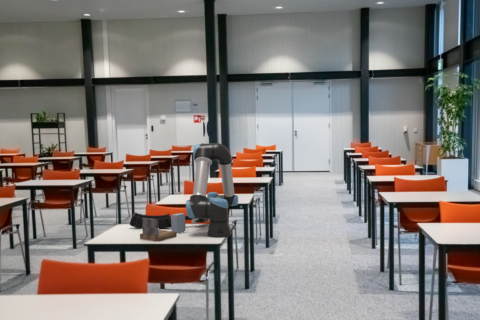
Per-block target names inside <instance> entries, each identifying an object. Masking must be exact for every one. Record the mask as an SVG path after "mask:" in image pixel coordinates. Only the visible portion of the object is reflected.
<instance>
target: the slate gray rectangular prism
mask: <svg viewBox="0 0 480 320" xmlns="http://www.w3.org/2000/svg"><path fill="white" fill-rule="evenodd" d="M185 216H186V213H182V212H181V213H180V212H179V213H174V214H171V215H170V217H171V226H172V228H171V231H173V232H176V233H179V234H182V233H181V232H183V233H185V232H184V231H187V230H186V220H185Z"/></svg>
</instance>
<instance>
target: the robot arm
mask: <svg viewBox="0 0 480 320" xmlns="http://www.w3.org/2000/svg"><path fill="white" fill-rule="evenodd" d="M192 158H193V161H194V163H195V164H196V168H195V174H194V175H195V176H194V185H193V191H192V194H191V195H190V197H189V199H188V200H186V201H185V210H186V215H185V221H191V225H194V224H199V223H205V222H207V223H208V222H209V226H208V229H207V237H211V238H225V237H229V236H231V235H232V230H231V227H230V224H229V206H231V207H235V206H238V204H239V196H238V195H237V194H235V187H234V178H233V171H232V170H233V169H232V164H233V157H232V154H231V152H230V150H229V149H228V148H227V147H226V146H225V145H223V144H222V143H219V142H216V143H215V142H214V143H213V142H211V143H208V142H207V143H203V142H202V143H197V144H195V145H194V148H193V152H192ZM213 161H217V163H218V165H219V167H220V174H221V175H220V176H221V182H222V191H223V194H218V192H217V191H216V192H215V191H210V192H209V191H208V193H207V190H208V182H209V174H210V166H211V165H212V164H213Z"/></svg>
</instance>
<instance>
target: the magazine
mask: <svg viewBox="0 0 480 320" xmlns="http://www.w3.org/2000/svg"><path fill="white" fill-rule="evenodd" d="M142 218H150V219H158V228H164V229H170V228H171V229H172V226H171V215H170V213H167V214H162V215H149V214H142V213H137V212H134V214H132V218H130V221H129V226H131V227H133V228H134V229H135V228H136V229H142V228H143V226H142Z"/></svg>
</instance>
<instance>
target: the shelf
mask: <svg viewBox="0 0 480 320" xmlns="http://www.w3.org/2000/svg"><path fill="white" fill-rule="evenodd" d="M142 226H143V229H142V233H140V234H139V239H140V240H147V241H152V242H153V241H154V242H162V241H166V240H169V239H173V238H176V236H177V235H178V234H177V233H176V232H173V231H172V230H164V229H158V219H150V218H142Z"/></svg>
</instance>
